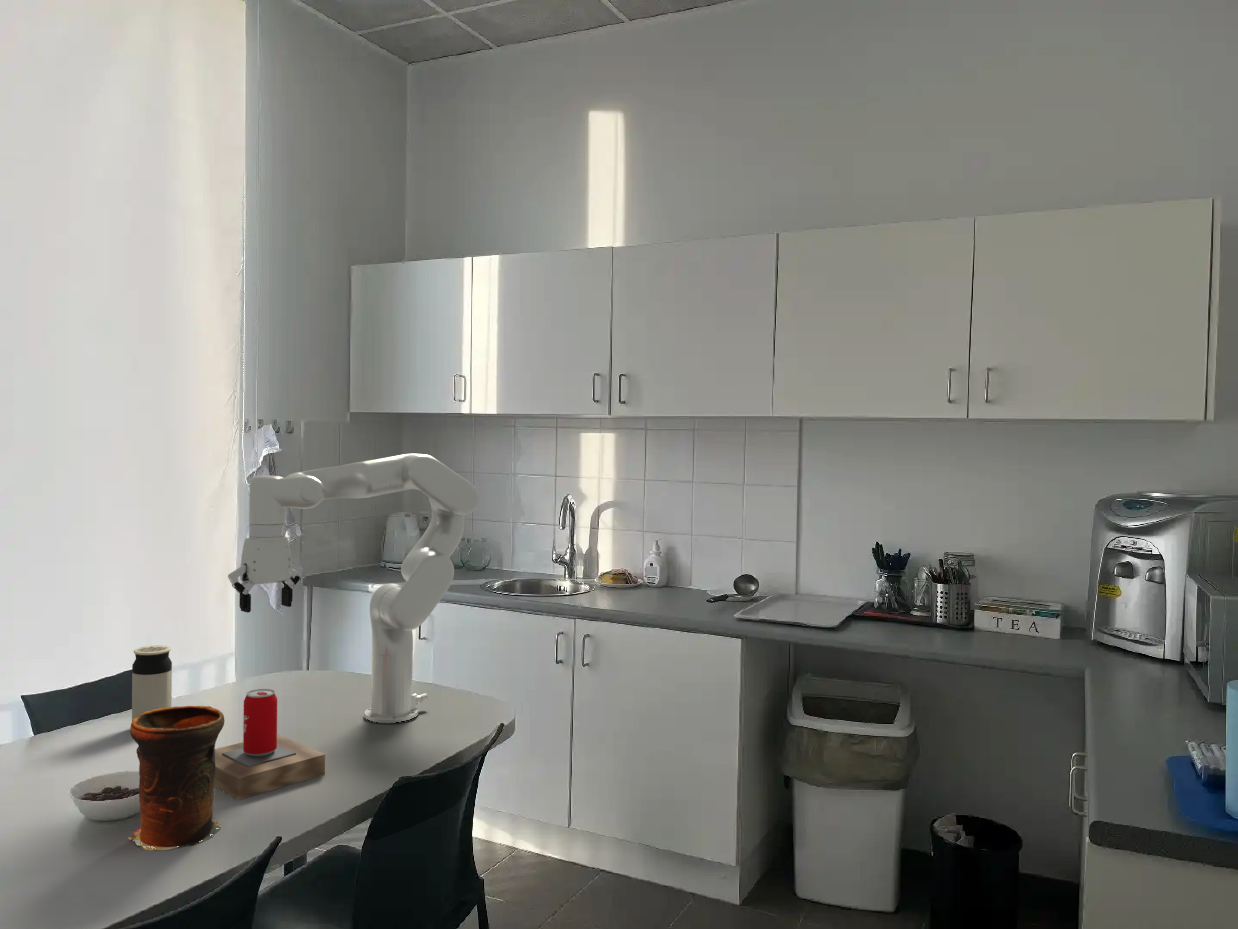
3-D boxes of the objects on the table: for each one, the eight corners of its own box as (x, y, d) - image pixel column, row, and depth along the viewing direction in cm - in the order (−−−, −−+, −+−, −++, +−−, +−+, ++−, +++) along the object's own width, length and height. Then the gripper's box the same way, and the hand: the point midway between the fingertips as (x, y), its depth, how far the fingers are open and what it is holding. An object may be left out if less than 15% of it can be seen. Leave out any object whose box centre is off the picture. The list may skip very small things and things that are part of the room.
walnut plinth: (276, 752, 200) (277, 732, 200) (324, 774, 188) (325, 752, 188) (192, 775, 186) (192, 753, 186) (238, 799, 174) (238, 776, 174)
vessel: (148, 814, 167) (152, 702, 166) (232, 816, 168) (236, 704, 167) (110, 851, 152) (114, 728, 151) (202, 853, 153) (206, 731, 152)
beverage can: (266, 745, 192) (267, 686, 191) (282, 752, 188) (283, 692, 187) (236, 752, 187) (237, 692, 186) (253, 760, 183) (254, 698, 182)
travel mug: (170, 732, 211) (170, 652, 210) (130, 735, 208) (130, 654, 207) (172, 721, 218) (173, 644, 218) (133, 724, 216) (134, 646, 215)
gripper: (293, 527, 218) (292, 601, 219) (221, 532, 205) (220, 611, 205) (311, 530, 213) (310, 606, 214) (238, 535, 200) (237, 616, 200)
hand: (266, 608), depth 210 cm, fingers open, 9 cm apart
